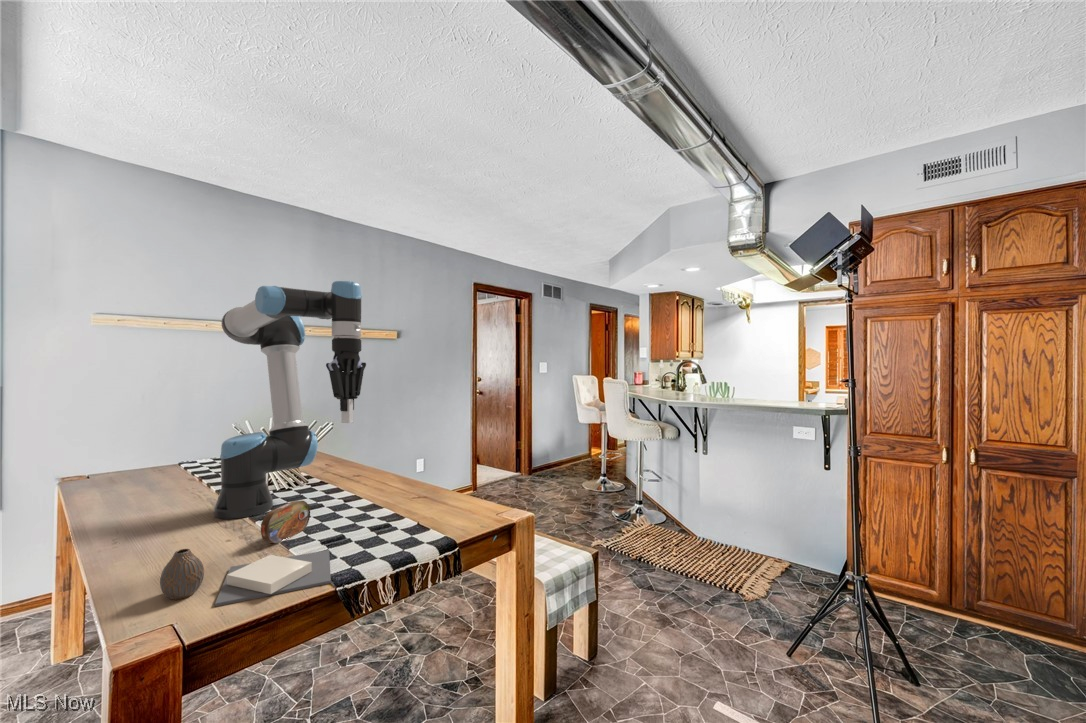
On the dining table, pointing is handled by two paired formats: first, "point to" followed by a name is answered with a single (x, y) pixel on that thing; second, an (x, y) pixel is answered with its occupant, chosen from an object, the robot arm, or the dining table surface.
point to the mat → (312, 579)
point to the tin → (285, 521)
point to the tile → (269, 574)
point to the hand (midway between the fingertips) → (347, 422)
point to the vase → (182, 575)
